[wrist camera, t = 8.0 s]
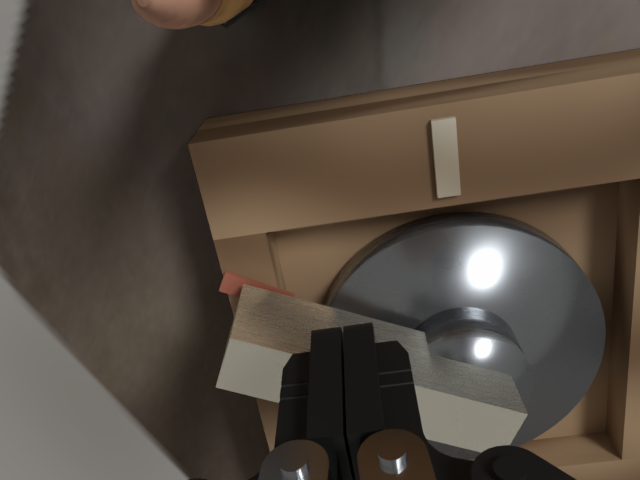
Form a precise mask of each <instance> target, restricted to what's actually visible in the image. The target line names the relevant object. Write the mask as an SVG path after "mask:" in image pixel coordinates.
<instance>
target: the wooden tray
mask: <svg viewBox="0 0 640 480" xmlns="http://www.w3.org/2000/svg"><path fill="white" fill-rule="evenodd" d="M188 147H189V151H190V155H191V159H192V162H193V166H194V170H195V174H196V177H197V181H198V185H199V189H200V192H201V196H202V200H203V203H204V207H205V211H206V215H207V218H208V222H209V226H210V230H211V233H212V237H213V241H214V245H215V248H216V252H217V256H218V260H219V263H220V267H221V271H222V274H223V280H222V283H221V286H220V288H219V291H220V292H223V293H226V294H228V297H229V301H230V304H231V308H232V312H233V316H234V315H235V311H236V308H237V304H238V301H239V298H240V294H241V291H242V287H243V284H246V285H250V286H254V287H257V288H261V289H265V290H269V291H272V292H276V293H280V294H284V295H287V296H291V297H295V298H299V299H302V300H306V301H310V302H313V303H317V304H321V305H324V302H325V299H326V297H327V295H328V292H329V290H330V288H331V286H332V284H333V283H334V281H335V280H336V278H337V276H338V275H339V273H340V272H341V271H342V269H343V268H344V267H345V266H346V265H347V264H348V262H349V261H350V260H351V259H352V258H353V257H354V256H355V255H356V254H357V253H358V252H359V251H361V250H362V249H363V248H364V247H365V246H366V245H368V244H369V243H371V242H372V241H374V240H375V239H376V238H378V237H379V236H381V235H383V234H385V233H386V232H388V231H390V230H392V229H394V228H396V227H398V226H400V225H403V224H405V223H408V222H410V221H413V220H416V219H419V218H423V217H427V216H431V215H435V214H442V213H449V212H467V211H475V212H485V213H494V214H498V215H503V216H507V217H511V218H514V219H517V220H520V221H522V222H525V223H528V224H530V225H532V226H533V227H535V228H537V229H539V230H541V231H543V232H545V233H546V234H547V235H549V236H550V237H551V238H553V239H554V240H555V241H557V242H558V243H559V244H560V245H561V246H562V247H563V248H564V249H565V250H566V251H567V252H568V253H569V254H570V255H571V257H572V258H573V259H574V260H575V262H576V263H577V264H578V265H579V267H580V268H581V269H582V270H583V272H584V273H585V275H586V276H587V277H588V279H589V280H590V282H591V283H592V284H593V286H594V288H595V291H596V293H597V295H598V297H599V299H600V302H601V306H602V309H603V312H604V318H605V327H606V335H605V347H604V352H603V357H602V361H601V364H600V366H599V369H598V372H597V374H596V376H595V378H594V380H593V382H592V384H591V386H590V387H589V389H588V391H587V392H586V393H585V395H584V396H583V398H582V399H581V400H580V402H579V403H578V404H577V405H576V406H575V407H574V408H573V409H572V410H571V411H570V413H569V414H568V415H566V416H565V417H564V418H563V419H562V420H561V421H559V422H558V423H557V424H556V425H555V426H553V427H552V428H550V429H549V430H547V431H546V432H544V433H543V434H542V435H540V436H538V437H536V438H534V439H532V440H531V441H529V442H527V443H525V444H522V445H520V446H518V447H521V448H524V449H527V450H529V451H531V452H533V453H535V454H536V455H538V456H539V457H541V458H543V459H544V460H546V461H547V462H549V463H551V464H552V465H554V466H555V467H557V468H559V469H560V470H562V471H563V472H565V473H567V474H568V475H570V476H571V477H573V478H575V479H576V480H640V48H639V49H633V50H627V51H621V52H615V53H609V54H602V55H596V56H590V57H584V58H578V59H571V60H565V61H559V62H553V63H547V64H541V65H534V66H528V67H522V68H516V69H510V70H504V71H497V72H491V73H485V74H479V75H473V76H466V77H460V78H454V79H448V80H442V81H436V82H429V83H423V84H417V85H411V86H405V87H398V88H392V89H386V90H380V91H374V92H368V93H361V94H355V95H349V96H343V97H337V98H331V99H324V100H318V101H312V102H306V103H300V104H293V105H287V106H281V107H275V108H269V109H263V110H256V111H250V112H244V113H238V114H232V115H226V116H219V117H213V118H207V119H205V121H204V122H203V124H202V125H201V126H200V128H199V129H198V131H197V132H196V133H195V135H194V136H193V138H192V139H191V140H190V142H189V143H188ZM255 398H256V397H255ZM256 402H257V405H258V409H259V413H260V416H261V420H262V424H263V428H264V431H265V435H266V439H267V443H268V446H269V450H270V452H271V451H272V450H273V449H274V445H275V436H276V427H277V417H278V408H279V403H277V402H273V401H269V400H265V399H261V398H256ZM475 459H476V458H475ZM475 459H466V460H471V461H474V460H475Z"/></svg>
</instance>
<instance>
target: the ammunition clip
mask: <svg viewBox="0 0 640 480" xmlns="http://www.w3.org/2000/svg"><path fill="white" fill-rule="evenodd" d="M265 1H266V0H131V4H132V6H133V7H134V9H135V11H136V12H137V13H138V14H139V15H140V16H141V17H142V18H143V19H144V20H146V21H147V22H149V23H151V24H153V25H155V26H158V27H161V28H168V29H185V28H189V27H194V26H197V25H202V26H209V27H210V26H214V25H218V24H221V25H222V27H224V28H227V27H229V26H230V25H231V24H233V23H234V22H236V21H237V20H239V19H240V18H242V17H243V16H244V15H246V14H247V13H249V12H250V11H252V10H253V9H255V8H256V7H257V6H259V5H260V4H262V3H263V2H265Z"/></svg>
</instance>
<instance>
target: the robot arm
mask: <svg viewBox="0 0 640 480" xmlns="http://www.w3.org/2000/svg"><path fill="white" fill-rule="evenodd" d="M189 480H207V479H201V478H197V479H189ZM249 480H576V479H575V478H573V477H571V476H570V475H568V474H567V473H565V472H563V471H562V470H560V469H559V468H557V467H555V466H554V465H552V464H551V463H549V462H547V461H546V460H544V459H543V458H541V457H539V456H538V455H536V454H535V453H533V452H531V451H529V450H527V449H524V448H521V447H517V446H510V445H501V446H495V447H492V448H489V449H487V450H485V451H483V452H482V453H480V454H479V455H478V456H477V457H476V459H475V460H474V461H471V460H465V459H459V458H454V457H451V456H448V455H445V454H443V453H441V452H439V451H438V450H436V449H435V448H434V447H433V446H431V445H430V443H429V442H428V441H427V440H426V438H425V436H424V433H423V429H422V423H421V418H420V413H419V407H418V402H417V397H416V391H415V386H414V380H413V375H412V370H411V364H410V359H409V354H408V352H407V351H406V350H405V348H404V347H403V346H402V345H401V344H400V343H399V342H398V341H397V340H395V341H387V342H379V343H376V340H375V333H374V327H373V322H371V323H363V324H356V325H348V326H343V331H342V328H341V327H334V328H326V329H319V330H312V331H311V347H310V352H303V353H295V354H292V356H291V357H290V359H289V360H288V362H287V363H286V365H285V366H284V368H283V371H282V381H281V390H280V401H279V408H278V417H277V427H276V436H275V445H274V449H273V450H272V451H271V452H270V453H269V454H268V455H267V456H266V457H265V459H264V461H263V463H262V465H261V468H260V472H259V473H258V474H257V475H255V476H254V477H252V478H251V479H249Z"/></svg>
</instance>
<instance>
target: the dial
mask: <svg viewBox="0 0 640 480" xmlns="http://www.w3.org/2000/svg"><path fill="white" fill-rule="evenodd" d="M371 322H373V327H374V333H375V340H376V343H379V342H387V341H395V340H397V341H398V342H399V343H400V344H401V345H402V346H403V347H404V348H405V350H406V351H407V352H408V354H409V359H410V364H411V370H412V375H413V380H414V386H415V391H416V397H417V402H418V407H419V413H420V418H421V423H422V429H423V433H424V436H425V438H426V440H427V441H428V442H429V443H430V445H431V446H433V447H434V448H435V449H436V450H438V451H439V452H441V453H443V454H445V455H448V456H451V457H454V458H459V459H465V460H466V459H475V458H476V457H477V456H478V455H479V454H480V453H482V452H483V451H485V450H487V449H489V448H492V447H495V446H501V445H510V446H517V447H518V446H520V445H522V444H525V443H527V442H529V441H531V440H532V439H534V438H536V437H538V436H540V435H542V434H543V433H544V432H546V431H547V430H549V429H550V428H552V427H553V426H555V425H556V424H557V423H558V422H559V421H561V420H562V419H563V418H564V417H565V416H566V415H568V414H569V413H570V411H571V410H572V409H573V408H574V407H575V406H576V405H577V404H578V403H579V402H580V400H581V399H582V398H583V396H584V395H585V393H586V392H587V391H588V389H589V387H590V386H591V384H592V382H593V380H594V378H595V376H596V374H597V372H598V369H599V366H600V364H601V361H602V357H603V352H604V347H605V335H606V327H605V318H604V312H603V309H602V306H601V302H600V299H599V297H598V295H597V293H596V291H595V288H594V286H593V284H592V283H591V282H590V280H589V279H588V277H587V276H586V275H585V273H584V272H583V270H582V269H581V268H580V267H579V265H578V264H577V263H576V262H575V260H574V259H573V258H572V257H571V255H570V254H569V253H568V252H567V251H566V250H565V249H564V248H563V247H562V246H561V245H560V244H559V243H558V242H557V241H555V240H554V239H553V238H551V237H550V236H549V235H547V234H546V233H545V232H543V231H541V230H539V229H537V228H535V227H533V226H532V225H530V224H528V223H525V222H522V221H520V220H517V219H514V218H511V217H507V216H503V215H498V214H494V213H485V212H475V211H467V212H449V213H442V214H435V215H431V216H427V217H423V218H419V219H416V220H413V221H410V222H408V223H405V224H403V225H400V226H398V227H396V228H394V229H392V230H390V231H388V232H386V233H385V234H383V235H381V236H379V237H378V238H376V239H375V240H374V241H372V242H371V243H369V244H368V245H366V246H365V247H364V248H363V249H362V250H361V251H359V252H358V253H357V254H356V255H355V256H354V257H353V258H352V259H351V260H350V261H349V262H348V264H347V265H346V266H345V267H344V268H343V269H342V271H341V272H340V273H339V275H338V276H337V278H336V280H335V281H334V283H333V284H332V286H331V288H330V290H329V292H328V295H327V297H326V299H325V302H324V305H321V304H317V303H313V302H310V301H306V300H302V299H299V298H295V297H291V296H287V295H284V294H280V293H276V292H272V291H269V290H265V289H261V288H257V287H254V286H250V285H246V284H243V287H242V291H241V294H240V298H239V301H238V304H237V308H236V311H235V315H234V318H233V322H232V325H231V329H230V333H229V337H228V340H227V344H226V348H225V352H224V356H223V360H222V364H221V368H220V372H219V376H218V380H217V384H216V388H220V389H224V390H228V391H232V392H236V393H240V394H244V395H248V396H252V397H256V398H261V399H265V400H269V401H273V402H277V403H279V401H280V390H281V381H282V371H283V368H284V366H285V365H286V363H287V362H288V360H289V359H290V357H291V356H292V354H295V353H303V352H310V347H311V331H312V330H319V329H326V328H334V327H341V328H342V331H343V326H348V325H356V324H363V323H371Z"/></svg>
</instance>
